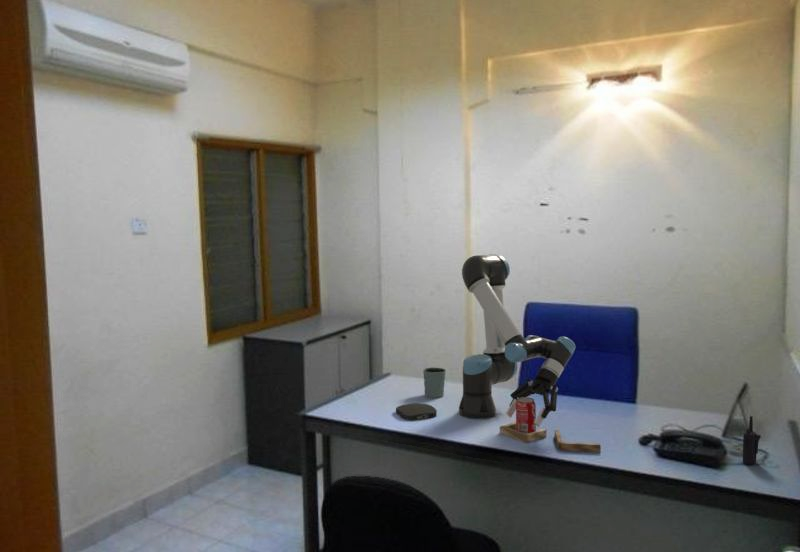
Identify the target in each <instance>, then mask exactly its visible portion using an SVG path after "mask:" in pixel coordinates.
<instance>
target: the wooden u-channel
mask: <svg viewBox="0 0 800 552" xmlns="http://www.w3.org/2000/svg"><path fill="white" fill-rule="evenodd" d="M499 434H501V435H504V436H506V437H509V438H512V439H514V440H516V441H520V442H522V443H525V444H527V443H531V442H534V441H536V440H539V439H543V438H546V437H547V429H545V428H540V429H538V430H536V431H534V432H531V433H528V434H524V433H522V432H519V431H516V421H514V422H510V423H507V424H503V425H500V426H499Z"/></svg>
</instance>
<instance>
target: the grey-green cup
mask: <svg viewBox="0 0 800 552" xmlns="http://www.w3.org/2000/svg"><path fill="white" fill-rule="evenodd" d="M446 371H447V370H446V369H445V368H443V367H426V368H424V369H423V370H422V373H423V387H424V396H425V398H430V399H440V398H443V397H444V394H445V393H444V392H445V380H446Z"/></svg>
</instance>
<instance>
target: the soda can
mask: <svg viewBox="0 0 800 552" xmlns="http://www.w3.org/2000/svg"><path fill="white" fill-rule="evenodd" d="M536 408H537V407H536V402H535V399H534V398H533V397H529V396H528V397H521V398H517V402H516V410H515V422H516V431H519V432H522V433H524V434H528V433H531V432H534V431H537V429H536V428H537V425H536V424H535V423H534V421H535V420H536V418H537V410H536Z"/></svg>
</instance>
